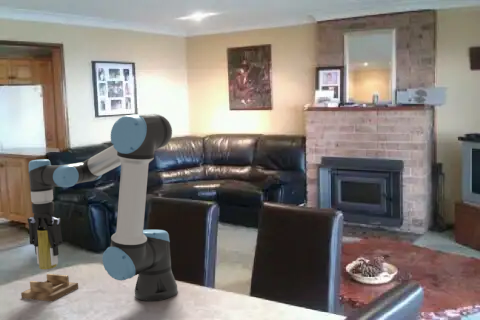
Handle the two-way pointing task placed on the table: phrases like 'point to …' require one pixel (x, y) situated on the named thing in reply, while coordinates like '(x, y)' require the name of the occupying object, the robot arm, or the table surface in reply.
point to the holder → (50, 288)
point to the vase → (44, 250)
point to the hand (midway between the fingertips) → (47, 263)
